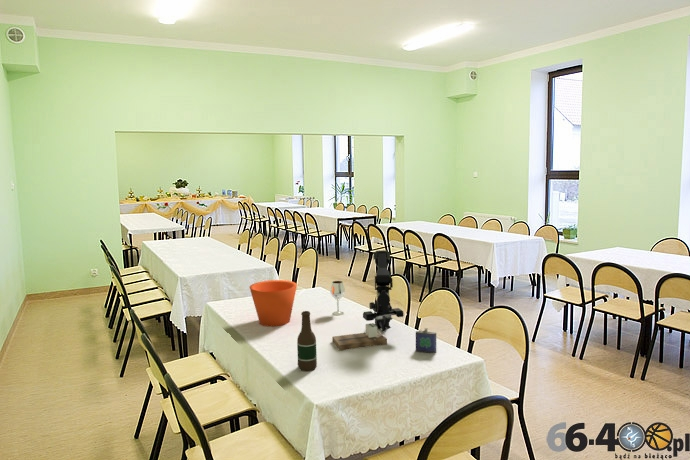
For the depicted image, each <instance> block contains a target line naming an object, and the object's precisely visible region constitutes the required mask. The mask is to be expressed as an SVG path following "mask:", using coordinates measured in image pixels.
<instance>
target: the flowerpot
mask: <svg viewBox="0 0 690 460" xmlns="http://www.w3.org/2000/svg"><path fill="white" fill-rule="evenodd" d="M297 287H298V283H296V282H294V281H291V280H283V279H275V280H274V279H272V280H271V279H270V280H264V281H262V280H261V281H258V282H254V283H252V284H251V285H249V290H250V294H251V298H252V301H253V305H254V307H255V310H256V311H255V312H256V315H257V318H258V322H259V324H260V325H261V326H263V327H264V326H265V327H281V326H283V325H285V326H286V325H287V324H289V323H290V322H291V317H292V312H293V307H294V303H295V302H294V301H295V296H296V292H297Z"/></svg>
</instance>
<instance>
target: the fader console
mask: <svg viewBox="0 0 690 460" xmlns="http://www.w3.org/2000/svg"><path fill="white" fill-rule="evenodd" d="M331 339H332V343H333V344H334V346H335V347H336V348H337V350H338V351H346V350H353V349H360V348H361V349H362V348H370V347H378V346H385V345H388V339H387V337H385V336H384V335H383V334H382V333H381V332H380V331H378V330H377V337H371V338H369V337H368V336H367V335H366V332H360V333H351V334H343V335H334V336H332V338H331Z"/></svg>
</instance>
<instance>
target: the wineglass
mask: <svg viewBox="0 0 690 460" xmlns="http://www.w3.org/2000/svg"><path fill="white" fill-rule="evenodd" d="M345 294H346V289H345V285H344V282H343V281H341V280H335V281H332V283H331V286H330V295H331V296H332V298H333V299H335V300H336V305H337V306H336V308H337V309H336V310H337V311H333V312H332V315H333V316H342V315H345V313H344V311H341V310H340V309H339V308H340V306H339V304H340V303H339V301H340V300H341V299H342V298H343V297H344V296H345Z"/></svg>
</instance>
